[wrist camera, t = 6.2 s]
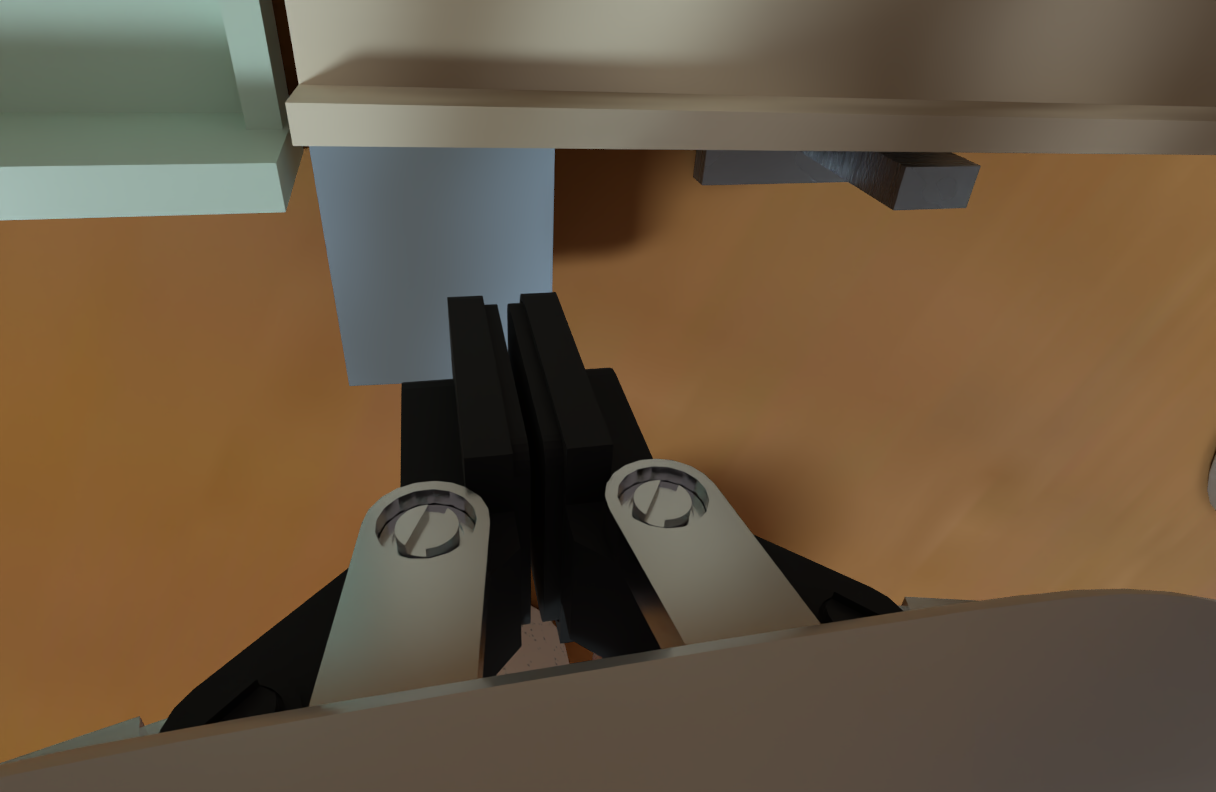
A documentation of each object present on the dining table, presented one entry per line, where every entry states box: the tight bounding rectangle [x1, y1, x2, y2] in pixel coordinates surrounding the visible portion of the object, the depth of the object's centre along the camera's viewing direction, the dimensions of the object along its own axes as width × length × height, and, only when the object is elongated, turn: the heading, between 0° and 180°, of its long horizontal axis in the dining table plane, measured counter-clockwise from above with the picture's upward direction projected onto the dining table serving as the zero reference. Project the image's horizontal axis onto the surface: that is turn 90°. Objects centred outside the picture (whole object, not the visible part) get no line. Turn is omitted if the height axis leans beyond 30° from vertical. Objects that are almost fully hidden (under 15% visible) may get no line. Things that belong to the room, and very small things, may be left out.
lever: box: [285, 0, 1216, 386], centre depth 12 cm, size 22×13×3 cm, turn 86°
